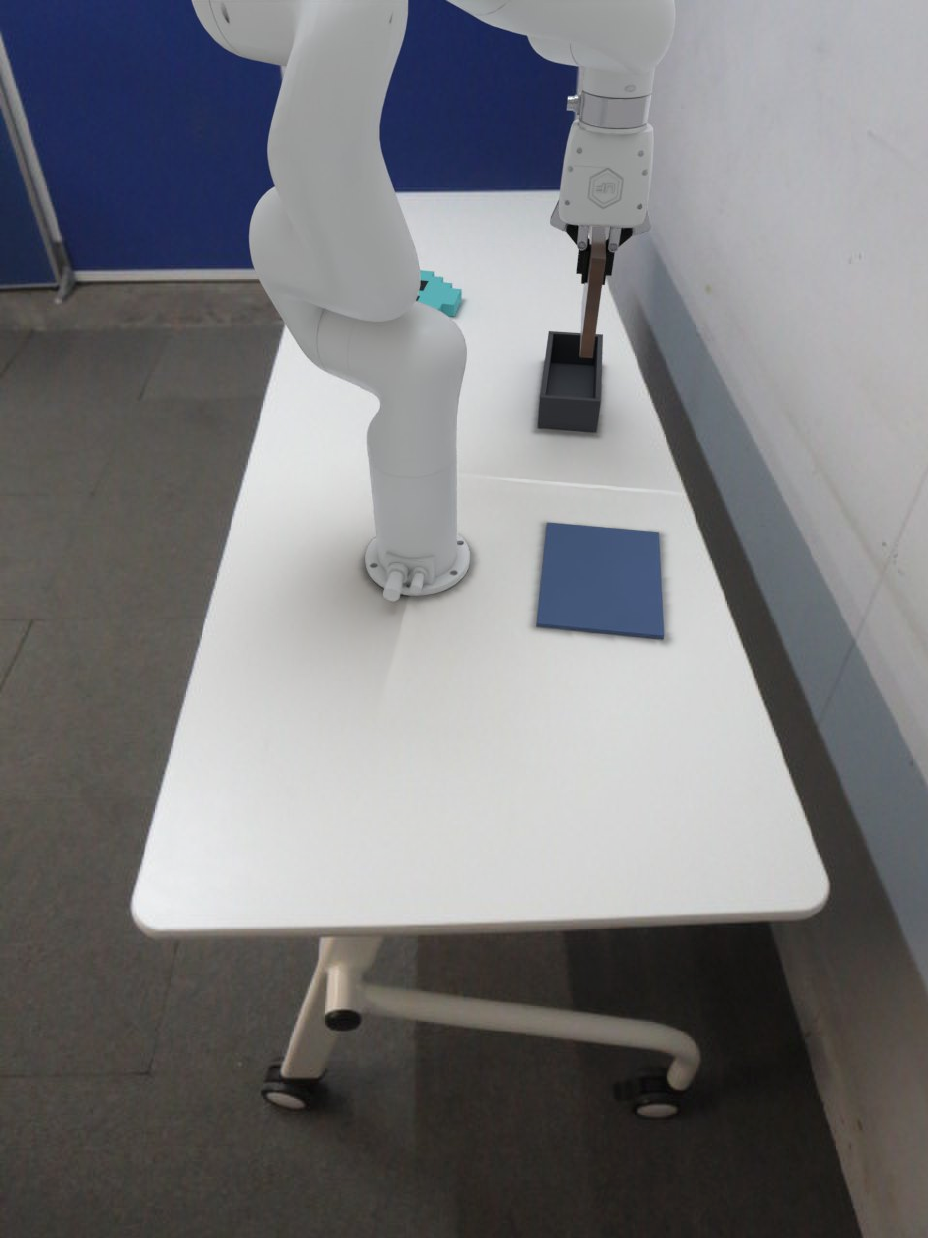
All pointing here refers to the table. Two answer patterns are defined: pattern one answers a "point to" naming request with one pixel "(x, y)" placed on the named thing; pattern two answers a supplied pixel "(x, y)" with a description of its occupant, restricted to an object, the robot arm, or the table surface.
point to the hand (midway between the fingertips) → (593, 279)
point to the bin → (570, 384)
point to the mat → (601, 581)
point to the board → (592, 291)
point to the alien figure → (439, 294)
